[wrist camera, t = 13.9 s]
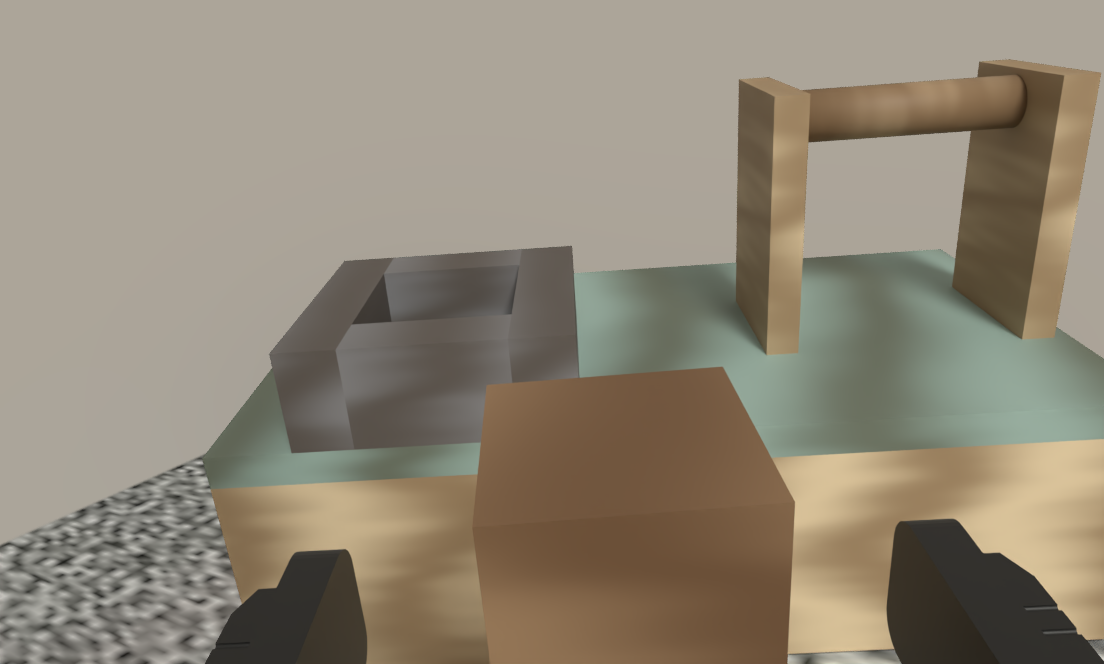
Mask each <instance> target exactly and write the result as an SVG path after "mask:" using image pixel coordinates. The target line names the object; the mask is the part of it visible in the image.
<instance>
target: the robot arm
mask: <svg viewBox="0 0 1104 664" xmlns="http://www.w3.org/2000/svg"><path fill="white" fill-rule="evenodd" d="M886 610H887V623H888V629H889V633H890V637H891V641H892V644H893V647H894V649H895V651H896V654H897V656H898V658H899V660H900V662H901V663H902V664H1104V661H1103V660H1102V659H1101V657H1100V656H1099V655H1098V654H1097V652H1096V651H1095V650H1094V649H1093V648H1092V646H1091V645H1090V644H1089V643H1088V641H1087V640H1086V639H1085V638H1084V637H1083V635H1082V634H1078V633H1077V628H1076V627H1075V625H1074V624H1073V623H1072V622H1071V621H1070V619H1069V618H1068V617H1067V616H1066V614H1065V613H1064V612H1063V611H1062V610H1058V607H1057V603H1056V602H1055V601H1054V600H1053V598H1052V597H1051V596H1050V595H1049V593H1048V592H1047V591H1046V590H1045V589H1044V587H1043V586H1042V585H1041V584H1040V582H1039V581H1038V580H1037V579H1036V577H1035V576H1034V575H1032V574H1031V573H1029V572H1028V571H1026V570H1025V569H1023V568H1022V567H1020V566H1019V565H1017V564H1016V563H1014V562H1013V561H1011V560H1010V559H1008V558H1007V557H1005V556H1004V555H1003V554H1001V553H1000V552H999V553H983V552H982V551H981V550H980V548H979V547H978V546H977V544H976V543H975V542H974V540H973V539H972V538H971V537H970V535H969V534H968V533H967V531H966V530H965V529H964V527H963V526H962V525H961V524H960V522H958V521H957V520H956V519H932V520H913V521H900V522H899V523H898V524H897V526H896V528H895V532H894V539H893V549H892V558H891V568H890V577H889V586H888V596H887V607H886ZM366 662H367V632H366V626H365V621H364V616H363V611H362V606H361V601H360V596H359V591H358V586H357V581H356V577H355V572H354V567H353V562H352V558H351V555H350V553H349V551H348V550H346V549H338V550H319V551H300V552H295V553H294V554H293V555H292V557H291V559H290V561H289V563H288V565H287V567H286V569H285V571H284V573H283V575H282V577H281V579H280V581H279V583H278V586H277V588H267V589H258V590H257V591H256V592H255V593H254V594H252V595H251V596H250V597H249V598H248V599H247V600H246V601H245V602H244V603H243V604H242V605H241V606H240V607H239V608H238V609H237V610H235V611H234V612H233V613H232V614H231V616H230V618H229V619H228V621H227V623H226V625H225V627H224V629H223V631H222V633H221V634H220V636H219V638H218V640H217V642H216V648H215V649H213V650H212V651H211V653H210V655H209V657H208V659H207V661H206V663H205V664H366Z"/></svg>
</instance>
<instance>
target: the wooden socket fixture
mask: <svg viewBox="0 0 1104 664" xmlns="http://www.w3.org/2000/svg"><path fill="white" fill-rule="evenodd" d="M1100 77H1101V73H1099V72H1092V71H1085V70H1078V69H1072V68H1065V67H1058V66H1051V65H1044V64H1037V63H1030V62H1023V61H1017V60H1010V59H1009V60H996V61H982V62H979V69H978V77H977V78H964V79H950V80H936V81H923V82H908V83H895V84H881V85H868V86H854V87H840V88H826V89H812V90H799V89H797V88H794V87H792V86H789V85H787V84H784V83H782V82H779V81H777V80H774V79H772V78H769V77H766V78H753V79H739V115H738V116H739V117H738V118H739V119H738V185H737V186H738V187H737V190H738V191H737V253H736V254H737V255H736V263H726V264H710V265H694V266H678V267H663V268H649V269H633V270H618V271H602V272H587V273H574V271H573V255H572V246H566V247H549V248H534V249H519V250H504V251H489V252H474V253H459V254H445V255H431V256H430V255H429V256H414V257H399V258H384V259H369V260H354V261H344V263H343V264H342V265H341V266H340V267H339V269H338V270H337V271H336V272H335V274H334V275H333V276H332V277H331V279H330V280H329V281H328V282H327V283H326V285H325V286H324V287H323V288H322V290H321V291H320V292H319V293H318V295H317V296H316V297H315V298H314V299H313V301H312V302H311V303H310V304H309V306H308V307H307V308H306V309H305V311H304V312H303V313H302V314H301V315H300V317H299V318H298V319H297V320H296V322H295V323H294V324H293V325H292V327H291V328H290V329H289V330H288V331H287V333H286V334H285V335H284V336H283V338H282V339H281V340H280V341H279V342H278V344H277V345H276V346H275V348H274V349H273V350H272V351H271V352H270V354H269V355H270V359H271V364H272V369H271V370H270V372H269V373H268V374H267V376H266V377H265V378H264V380H263V381H262V382H261V383H260V385H259V386H258V387H257V388H256V390H255V391H254V392H253V394H252V395H251V396H250V398H249V399H248V400H247V401H246V403H245V404H244V405H243V407H242V408H241V409H240V410H239V412H238V413H237V414H236V416H235V417H234V418H233V420H232V421H231V422H230V423H229V425H228V426H227V427H226V429H225V430H224V431H223V432H222V434H221V435H220V436H219V438H218V439H217V440H216V442H215V443H214V444H213V445H212V447H211V448H210V449H209V451H208V452H207V453H206V454H205V456H204V457H203V458H202V459H203V463H204V467H205V470H206V474H207V478H208V481H209V485H210V489H211V492H212V496H213V500H214V503H215V507H216V511H217V514H218V518H219V522H220V525H221V529H222V533H223V536H224V540H225V544H226V547H227V551H228V555H229V558H230V562H231V566H232V569H233V573H234V577H235V580H236V584H237V588H238V591H239V595H240V599H241V602H242V604H243V603H244V602H245V601H246V600H247V599H248V598H249V597H250V596H251V595H252V594H254V593H255V592H256V591H257V590H258V589H267V588H277V586H278V583H279V581H280V579H281V577H282V575H283V573H284V571H285V569H286V567H287V565H288V563H289V561H290V559H291V557H292V555H293V554H294V553H295V552H300V551H319V550H338V549H346V550H348V551H349V553H350V555H351V558H352V562H353V567H354V572H355V577H356V581H357V586H358V591H359V596H360V601H361V606H362V611H363V616H364V621H365V626H366V632H367V662H366V664H490V659H489V651H488V644H487V636H486V628H485V621H484V613H483V606H482V598H481V590H480V583H479V575H478V568H477V560H476V553H475V545H474V537H473V530H472V525H473V515H474V505H475V495H476V485H477V475H478V465H479V455H480V446H481V436H482V426H483V416H484V406H485V396H486V386H487V385H493V384H506V383H518V382H531V381H544V380H557V379H570V378H582V377H595V376H608V375H621V374H633V373H646V372H659V371H672V370H685V369H697V368H710V367H723V368H724V370H725V372H726V373H727V375H728V377H729V379H730V381H731V383H732V385H733V387H734V388H735V390H736V392H737V394H738V396H739V398H740V400H741V402H742V403H743V405H744V407H745V409H746V411H747V413H748V415H749V417H750V418H751V420H752V422H753V424H754V426H755V428H756V430H757V432H758V433H759V435H760V437H761V439H762V441H763V443H764V445H765V447H766V448H767V450H768V452H769V454H770V456H771V458H772V460H773V462H774V463H775V465H776V467H777V469H778V471H779V473H780V475H781V477H782V479H783V480H784V482H785V484H786V486H787V488H788V490H789V492H790V494H791V495H792V497H793V499H794V501H795V516H794V536H793V556H792V577H791V597H790V617H789V638H788V654H798V653H819V652H840V651H861V650H882V649H894V647H893V644H892V641H891V637H890V633H889V629H888V623H887V610H886V607H887V596H888V586H889V577H890V568H891V558H892V549H893V539H894V532H895V528H896V526H897V524H898V523H899V522H900V521H913V520H932V519H956V520H957V521H958V522H960V524H961V525H962V526H963V527H964V529H965V530H966V531H967V533H968V534H969V535H970V537H971V538H972V539H973V540H974V542H975V543H976V544H977V546H978V547H979V548H980V550H981V551H982V552H983V553H999V552H1000V553H1001V554H1003V555H1004V556H1005V557H1007V558H1008V559H1010V560H1011V561H1013V562H1014V563H1016V564H1017V565H1019V566H1020V567H1022V568H1023V569H1025V570H1026V571H1028V572H1029V573H1031V574H1032V575H1034V576H1035V577H1036V579H1037V580H1038V581H1039V582H1040V584H1041V585H1042V586H1043V587H1044V589H1045V590H1046V591H1047V592H1048V593H1049V595H1050V596H1051V597H1052V598H1053V600H1054V601H1055V602H1056V603H1057V607H1058V610H1062V611H1063V612H1064V613H1065V614H1066V616H1067V617H1068V618H1069V619H1070V621H1071V622H1072V623H1073V624H1074V625H1075V627H1076V628H1077V633H1078V634H1082V635H1083V637H1084V638H1085V639H1086V640H1094V639H1104V359H1103V358H1102V357H1100V356H1099V355H1097V354H1096V353H1094V352H1093V351H1091V350H1090V349H1088V348H1087V347H1085V346H1084V345H1082V344H1081V343H1079V342H1078V341H1076V340H1075V339H1073V338H1072V337H1070V336H1069V335H1067V334H1066V333H1064V332H1063V331H1061V330H1060V329H1059V328H1057V327H1056V325H1057V319H1058V314H1059V309H1060V303H1061V297H1062V292H1063V285H1064V280H1065V275H1066V269H1067V263H1068V258H1069V252H1070V246H1071V241H1072V235H1073V230H1074V224H1075V218H1076V213H1077V207H1078V201H1079V195H1080V190H1081V184H1082V179H1083V173H1084V167H1085V162H1086V156H1087V150H1088V145H1089V139H1090V133H1091V128H1092V122H1093V116H1094V110H1095V105H1096V100H1097V94H1098V88H1099V82H1100ZM962 131H971V135H970V143H969V151H968V159H967V168H966V176H965V184H964V192H963V200H962V209H961V217H960V225H959V233H958V242H957V250H956V258H955V259H954V258H953V257H951V256H950V255H948V254H947V253H946V252H944V251H943V250H941V249H938V250H923V251H908V252H893V253H877V254H862V255H847V256H832V257H816V258H803V243H804V220H805V200H806V179H807V158H808V142H820V141H834V140H848V139H862V138H877V137H891V136H905V135H919V134H933V133H947V132H962Z"/></svg>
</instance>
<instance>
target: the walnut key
mask: <svg viewBox="0 0 1104 664" xmlns="http://www.w3.org/2000/svg"><path fill="white" fill-rule="evenodd" d="M794 516H795V501H794V499H793V497H792V495H791V494H790V492H789V490H788V488H787V486H786V484H785V482H784V480H783V479H782V477H781V475H780V473H779V471H778V469H777V467H776V465H775V463H774V462H773V460H772V458H771V456H770V454H769V452H768V450H767V448H766V447H765V445H764V443H763V441H762V439H761V437H760V435H759V433H758V432H757V430H756V428H755V426H754V424H753V422H752V420H751V418H750V417H749V415H748V413H747V411H746V409H745V407H744V405H743V403H742V402H741V400H740V398H739V396H738V394H737V392H736V390H735V388H734V387H733V385H732V383H731V381H730V379H729V377H728V375H727V373H726V372H725V370H724V368H723V367H710V368H697V369H685V370H672V371H659V372H646V373H633V374H621V375H608V376H595V377H582V378H570V379H557V380H544V381H531V382H518V383H506V384H493V385H487V386H486V396H485V406H484V416H483V426H482V436H481V446H480V455H479V465H478V475H477V485H476V495H475V505H474V515H473V525H472V530H473V537H474V545H475V553H476V560H477V568H478V575H479V583H480V590H481V598H482V606H483V613H484V621H485V628H486V636H487V644H488V651H489V659H490V664H787V658H788V638H789V617H790V597H791V577H792V556H793V536H794Z"/></svg>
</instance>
